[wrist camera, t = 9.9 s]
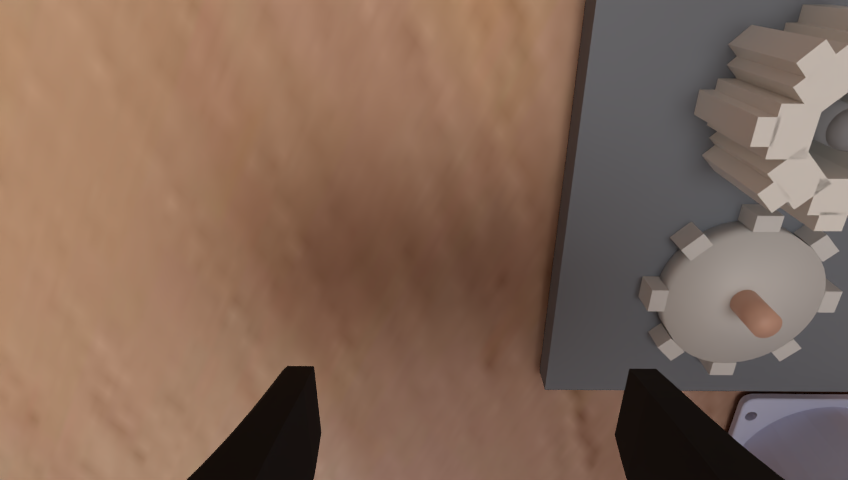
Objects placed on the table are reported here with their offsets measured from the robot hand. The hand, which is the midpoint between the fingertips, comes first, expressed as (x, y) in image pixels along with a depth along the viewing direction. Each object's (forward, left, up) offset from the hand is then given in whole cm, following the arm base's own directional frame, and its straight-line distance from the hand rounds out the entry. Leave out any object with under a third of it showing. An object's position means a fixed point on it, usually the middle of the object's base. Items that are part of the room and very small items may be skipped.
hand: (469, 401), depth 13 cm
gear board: (+5, -11, -9) cm, 15 cm away
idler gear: (+5, -11, -8) cm, 14 cm away
